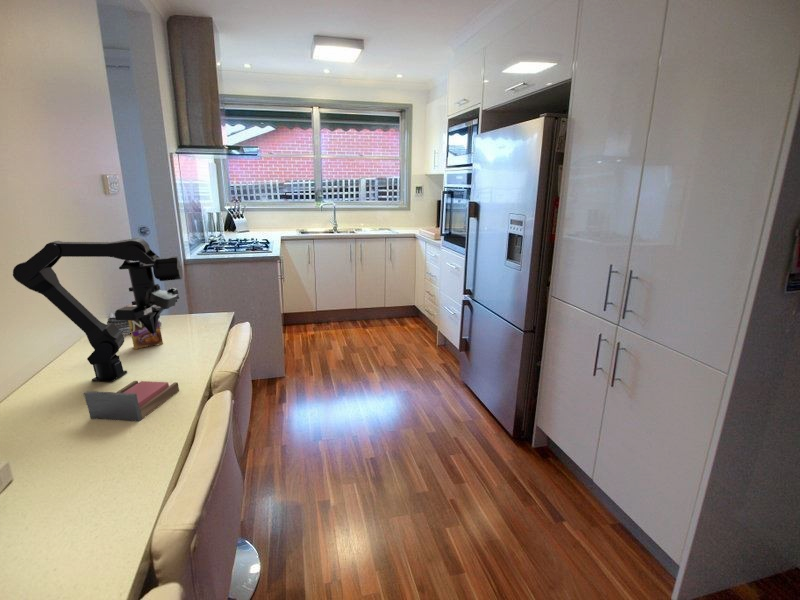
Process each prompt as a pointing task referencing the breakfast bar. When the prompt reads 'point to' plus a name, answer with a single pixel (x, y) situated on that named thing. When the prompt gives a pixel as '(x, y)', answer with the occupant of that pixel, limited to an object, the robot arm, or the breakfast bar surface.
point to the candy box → (143, 334)
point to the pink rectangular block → (147, 390)
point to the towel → (122, 323)
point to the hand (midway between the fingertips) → (153, 333)
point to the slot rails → (156, 400)
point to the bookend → (113, 406)
